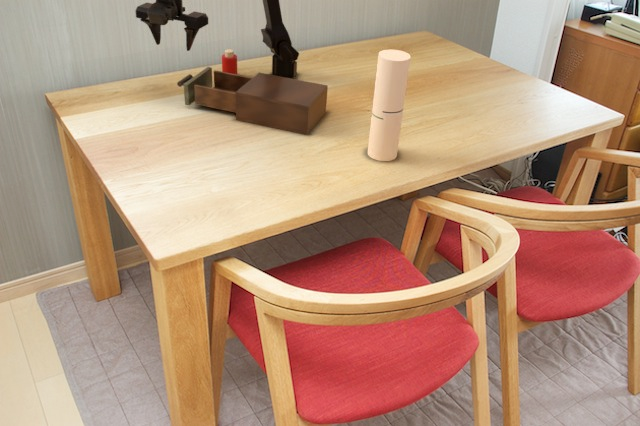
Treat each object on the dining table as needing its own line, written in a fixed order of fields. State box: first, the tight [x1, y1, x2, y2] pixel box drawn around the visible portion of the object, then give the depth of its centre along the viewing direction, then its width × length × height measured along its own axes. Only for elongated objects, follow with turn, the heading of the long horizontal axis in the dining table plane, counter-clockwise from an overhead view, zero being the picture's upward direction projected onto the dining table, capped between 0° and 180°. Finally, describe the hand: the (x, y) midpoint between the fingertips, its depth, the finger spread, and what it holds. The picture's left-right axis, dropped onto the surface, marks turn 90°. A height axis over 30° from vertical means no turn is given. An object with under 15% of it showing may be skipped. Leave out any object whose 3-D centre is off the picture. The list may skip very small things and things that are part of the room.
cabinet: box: [235, 72, 328, 136], centre depth 172 cm, size 20×15×8 cm
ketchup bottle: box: [221, 48, 238, 75], centre depth 192 cm, size 4×4×8 cm
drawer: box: [177, 66, 253, 114], centre depth 176 cm, size 23×14×6 cm, turn 71°
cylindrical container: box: [367, 49, 411, 162], centre depth 153 cm, size 7×7×25 cm
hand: (173, 47), depth 177 cm, fingers open, 9 cm apart
